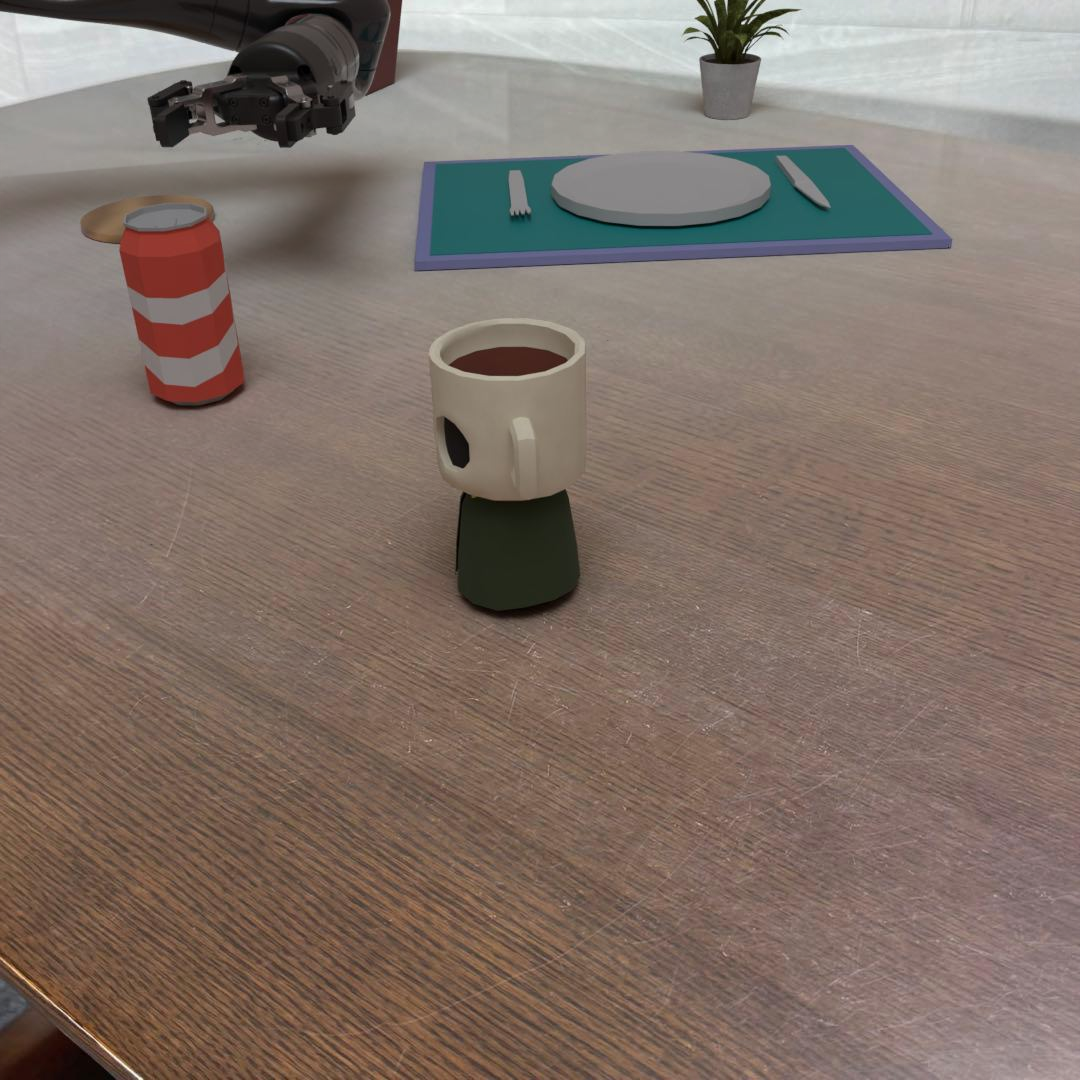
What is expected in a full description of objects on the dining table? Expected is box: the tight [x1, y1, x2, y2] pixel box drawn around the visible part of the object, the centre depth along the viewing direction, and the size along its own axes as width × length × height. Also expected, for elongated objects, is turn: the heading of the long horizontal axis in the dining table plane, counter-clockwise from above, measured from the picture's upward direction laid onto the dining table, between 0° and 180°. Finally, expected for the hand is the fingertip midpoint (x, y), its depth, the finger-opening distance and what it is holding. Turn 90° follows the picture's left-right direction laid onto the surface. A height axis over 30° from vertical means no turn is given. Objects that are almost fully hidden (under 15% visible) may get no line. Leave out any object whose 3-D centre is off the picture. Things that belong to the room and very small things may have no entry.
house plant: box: [681, 0, 803, 121], centre depth 136 cm, size 14×14×16 cm
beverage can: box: [118, 203, 245, 407], centre depth 78 cm, size 6×6×12 cm
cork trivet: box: [79, 194, 216, 244], centre depth 112 cm, size 12×12×1 cm
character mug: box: [428, 317, 587, 612], centre depth 57 cm, size 11×7×13 cm, turn 9°
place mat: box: [414, 144, 953, 272], centre depth 112 cm, size 45×30×2 cm
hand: (221, 133), depth 83 cm, fingers open, 8 cm apart
